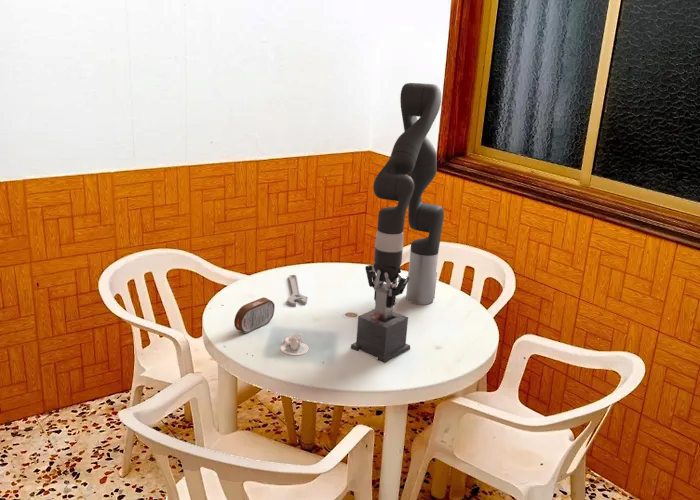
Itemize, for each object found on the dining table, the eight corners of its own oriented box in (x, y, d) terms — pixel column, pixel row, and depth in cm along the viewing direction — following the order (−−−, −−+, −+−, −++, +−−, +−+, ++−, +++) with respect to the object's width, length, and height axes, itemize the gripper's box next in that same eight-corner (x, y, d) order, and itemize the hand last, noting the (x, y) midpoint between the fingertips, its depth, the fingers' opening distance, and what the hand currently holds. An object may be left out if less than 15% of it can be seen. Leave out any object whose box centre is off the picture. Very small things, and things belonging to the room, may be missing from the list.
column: (379, 344, 193) (384, 283, 187) (390, 348, 191) (395, 287, 185) (371, 348, 191) (375, 286, 184) (381, 353, 188) (387, 290, 182)
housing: (377, 335, 199) (379, 300, 195) (410, 349, 192) (413, 313, 188) (350, 348, 190) (353, 312, 186) (384, 363, 183) (387, 326, 179)
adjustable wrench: (288, 278, 239) (288, 274, 238) (306, 279, 239) (306, 274, 239) (287, 307, 215) (287, 302, 214) (307, 307, 215) (307, 302, 215)
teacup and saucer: (282, 341, 193) (282, 328, 191) (310, 343, 192) (310, 330, 191) (278, 355, 184) (278, 342, 183) (307, 357, 184) (307, 344, 183)
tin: (268, 318, 205) (268, 293, 203) (276, 321, 204) (276, 296, 201) (233, 334, 194) (233, 308, 191) (241, 338, 192) (241, 311, 189)
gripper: (418, 250, 179) (412, 309, 185) (377, 237, 188) (372, 293, 193) (401, 256, 174) (396, 316, 179) (360, 242, 182) (356, 300, 188)
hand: (384, 304), depth 186 cm, fingers closed on column, 3 cm apart
